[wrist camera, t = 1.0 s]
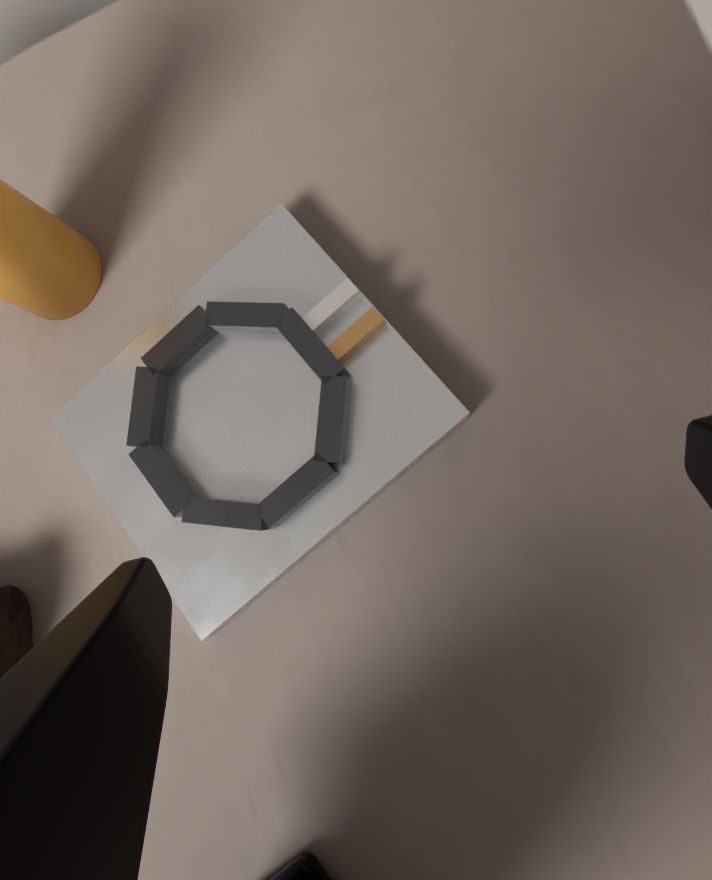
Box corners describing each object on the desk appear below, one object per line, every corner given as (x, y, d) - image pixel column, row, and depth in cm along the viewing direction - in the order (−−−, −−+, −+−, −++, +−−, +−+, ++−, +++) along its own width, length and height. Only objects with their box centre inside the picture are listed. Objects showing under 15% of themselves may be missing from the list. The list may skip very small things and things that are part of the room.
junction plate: (214, 633, 24) (189, 646, 22) (66, 422, 26) (31, 415, 24) (469, 416, 23) (470, 408, 21) (289, 217, 25) (273, 191, 23)
